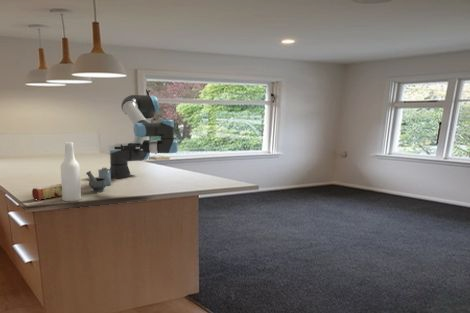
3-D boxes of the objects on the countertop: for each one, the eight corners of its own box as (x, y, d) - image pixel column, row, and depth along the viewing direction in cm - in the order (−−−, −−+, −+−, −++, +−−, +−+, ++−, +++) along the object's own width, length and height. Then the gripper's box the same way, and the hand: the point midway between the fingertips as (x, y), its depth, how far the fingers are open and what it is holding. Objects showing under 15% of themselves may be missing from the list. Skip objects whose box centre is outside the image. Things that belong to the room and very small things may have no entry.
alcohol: (83, 197, 180) (80, 141, 176) (78, 201, 171) (75, 143, 168) (65, 197, 178) (62, 141, 175) (60, 202, 170) (56, 143, 166)
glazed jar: (97, 185, 210) (96, 167, 209) (108, 183, 215) (107, 166, 213) (101, 187, 205) (101, 169, 204) (112, 185, 210) (112, 168, 208)
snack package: (70, 192, 192) (70, 180, 191) (77, 193, 188) (76, 182, 187) (31, 200, 174) (31, 187, 173) (38, 201, 171) (37, 188, 170)
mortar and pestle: (109, 189, 199) (108, 169, 197) (105, 193, 190) (104, 172, 188) (89, 189, 198) (88, 169, 196) (84, 193, 188) (83, 172, 187)
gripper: (146, 155, 181) (106, 155, 179) (154, 150, 205) (119, 150, 204) (145, 141, 180) (105, 141, 178) (154, 138, 204) (118, 138, 203)
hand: (112, 146), depth 191 cm, fingers open, 13 cm apart
